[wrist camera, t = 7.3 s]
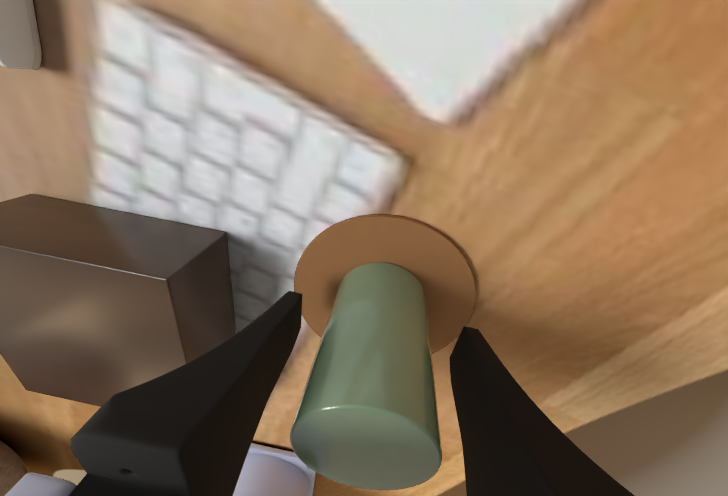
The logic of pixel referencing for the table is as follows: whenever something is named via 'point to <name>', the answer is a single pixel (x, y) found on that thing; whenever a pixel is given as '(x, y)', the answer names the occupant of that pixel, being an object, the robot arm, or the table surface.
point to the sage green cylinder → (372, 386)
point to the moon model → (10, 469)
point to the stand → (106, 296)
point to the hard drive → (19, 35)
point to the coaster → (395, 246)
